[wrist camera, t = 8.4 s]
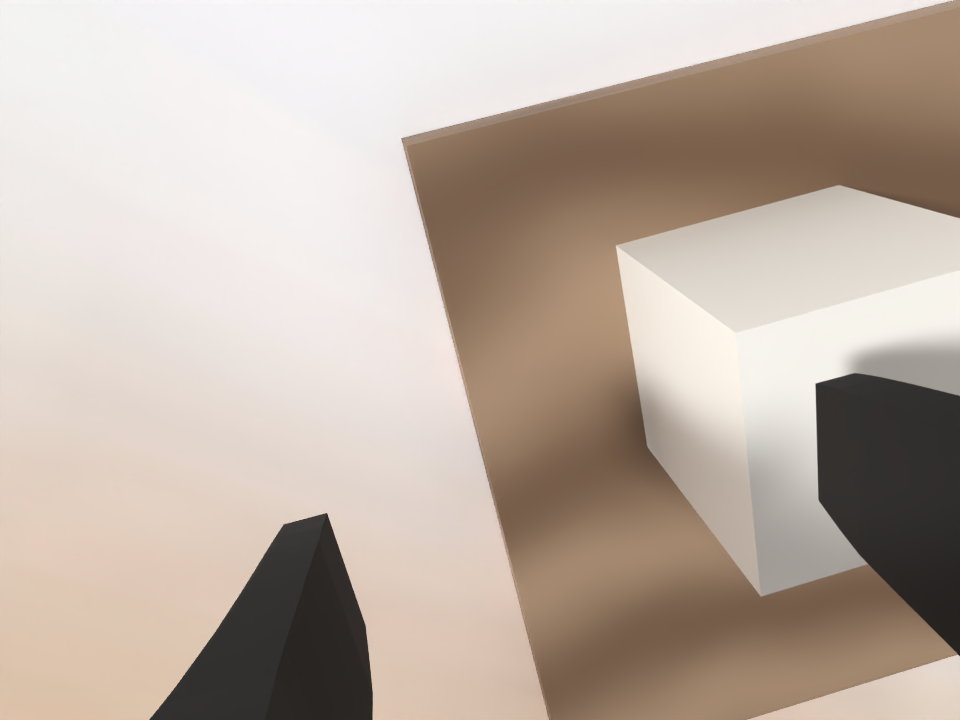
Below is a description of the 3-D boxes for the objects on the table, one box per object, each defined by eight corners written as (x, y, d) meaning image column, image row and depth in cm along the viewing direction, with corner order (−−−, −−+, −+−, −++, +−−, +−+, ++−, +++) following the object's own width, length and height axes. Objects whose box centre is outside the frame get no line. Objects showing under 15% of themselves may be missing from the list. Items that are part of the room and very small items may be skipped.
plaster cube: (845, 389, 20) (1029, 515, 15) (647, 447, 20) (760, 596, 15) (839, 184, 18) (1051, 244, 13) (615, 245, 18) (736, 333, 12)
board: (938, 619, 27) (970, 650, 25) (553, 736, 26) (565, 775, 24) (960, -2, 18) (1010, -6, 17) (401, 138, 18) (406, 145, 16)
